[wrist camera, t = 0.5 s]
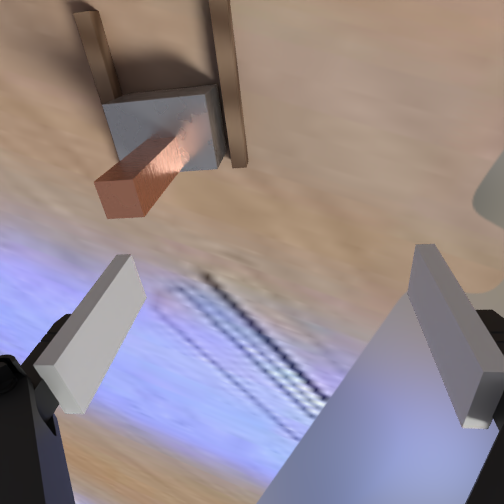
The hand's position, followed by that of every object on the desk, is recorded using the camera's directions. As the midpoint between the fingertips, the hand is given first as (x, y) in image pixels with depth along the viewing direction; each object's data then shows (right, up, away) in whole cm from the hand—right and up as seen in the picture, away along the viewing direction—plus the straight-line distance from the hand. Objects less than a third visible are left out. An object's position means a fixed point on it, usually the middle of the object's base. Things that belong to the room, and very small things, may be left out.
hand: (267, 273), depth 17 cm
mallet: (-9, +15, +23) cm, 29 cm away
